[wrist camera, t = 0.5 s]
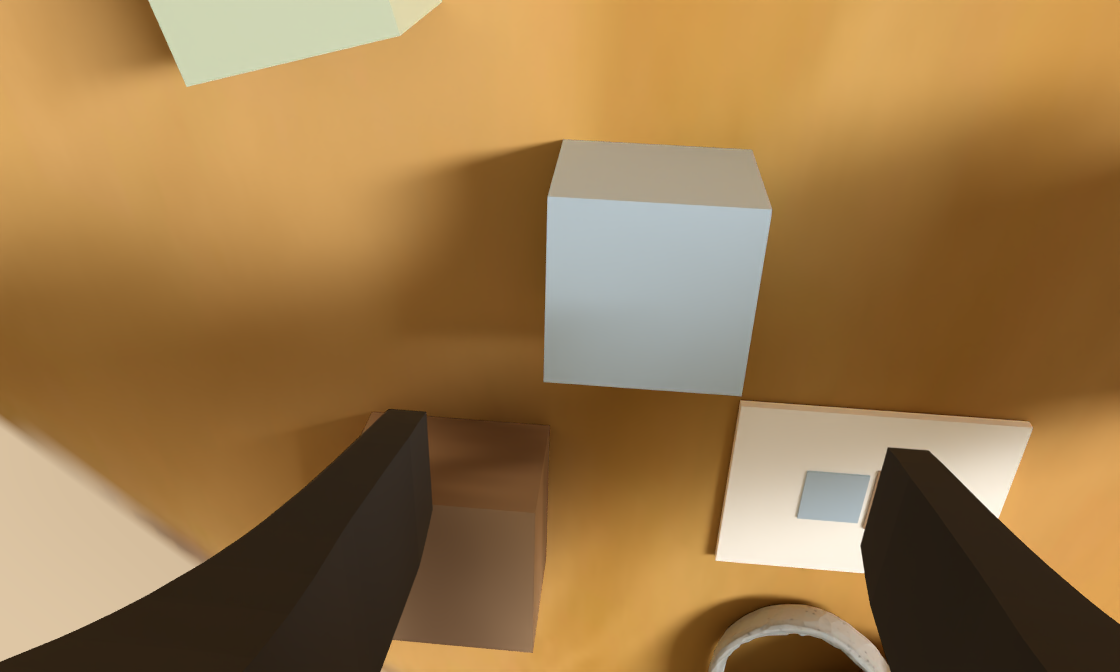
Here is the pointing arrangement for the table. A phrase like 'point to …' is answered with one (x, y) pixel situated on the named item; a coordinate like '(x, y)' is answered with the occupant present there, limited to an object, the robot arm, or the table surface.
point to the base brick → (481, 536)
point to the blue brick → (653, 266)
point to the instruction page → (842, 476)
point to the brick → (274, 31)
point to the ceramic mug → (802, 623)
